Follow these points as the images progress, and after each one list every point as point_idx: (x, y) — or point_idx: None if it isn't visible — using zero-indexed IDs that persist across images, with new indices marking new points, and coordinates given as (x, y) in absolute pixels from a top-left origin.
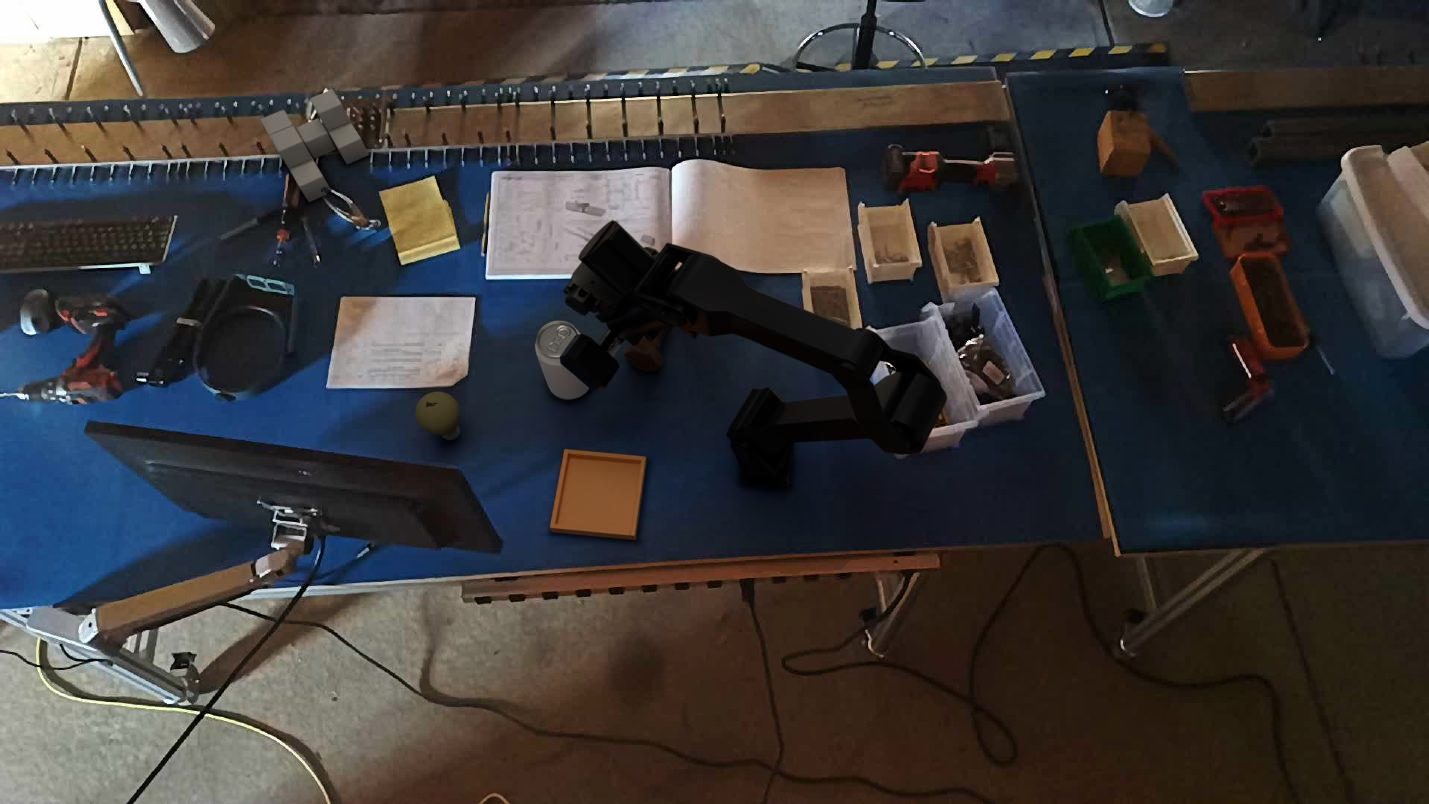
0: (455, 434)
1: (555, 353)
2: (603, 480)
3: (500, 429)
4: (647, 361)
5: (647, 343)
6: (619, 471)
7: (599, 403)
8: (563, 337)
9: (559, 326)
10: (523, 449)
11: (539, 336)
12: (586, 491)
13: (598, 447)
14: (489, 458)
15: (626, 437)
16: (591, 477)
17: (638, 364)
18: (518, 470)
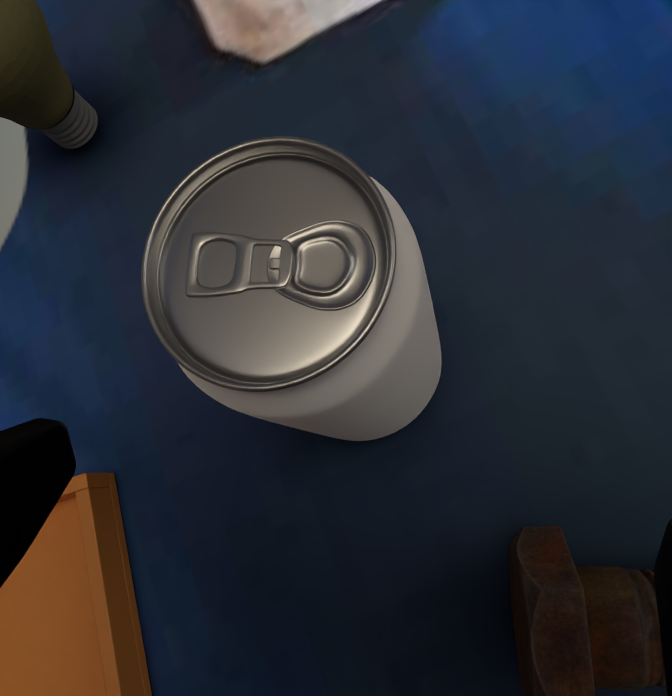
0: (57, 139)
1: (181, 295)
2: (55, 637)
3: (134, 243)
4: (525, 664)
5: (609, 647)
6: (96, 681)
7: (317, 498)
8: (295, 284)
9: (357, 224)
10: (96, 338)
11: (256, 158)
12: (10, 595)
13: (166, 565)
14: (47, 263)
15: (228, 650)
16: (55, 591)
17: (514, 599)
18: (35, 357)
